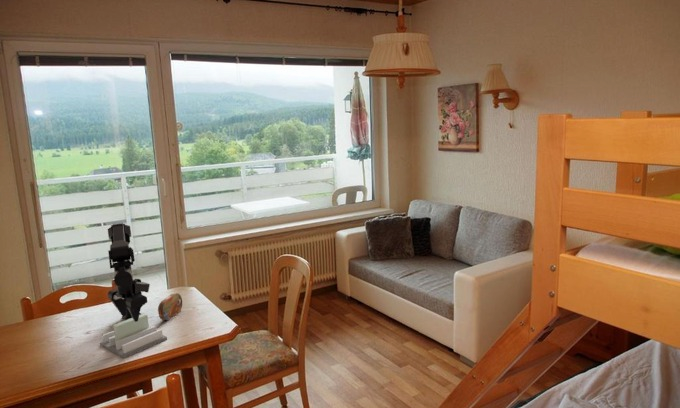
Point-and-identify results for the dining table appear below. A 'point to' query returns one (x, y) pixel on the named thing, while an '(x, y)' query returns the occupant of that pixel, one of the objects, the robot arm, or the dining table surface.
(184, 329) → the dining table surface
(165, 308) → the tin
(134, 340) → the dish rack
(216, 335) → the dining table surface
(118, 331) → the plate slab
